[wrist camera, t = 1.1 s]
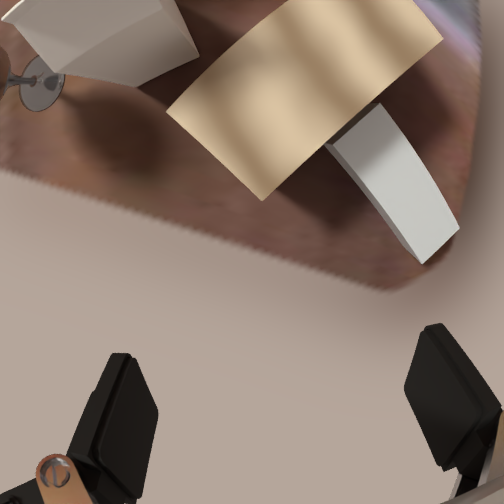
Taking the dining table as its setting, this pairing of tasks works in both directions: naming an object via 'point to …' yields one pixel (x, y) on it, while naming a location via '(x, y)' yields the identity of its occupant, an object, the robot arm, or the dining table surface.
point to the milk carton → (106, 37)
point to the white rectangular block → (394, 180)
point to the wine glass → (31, 82)
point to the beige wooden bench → (299, 82)
